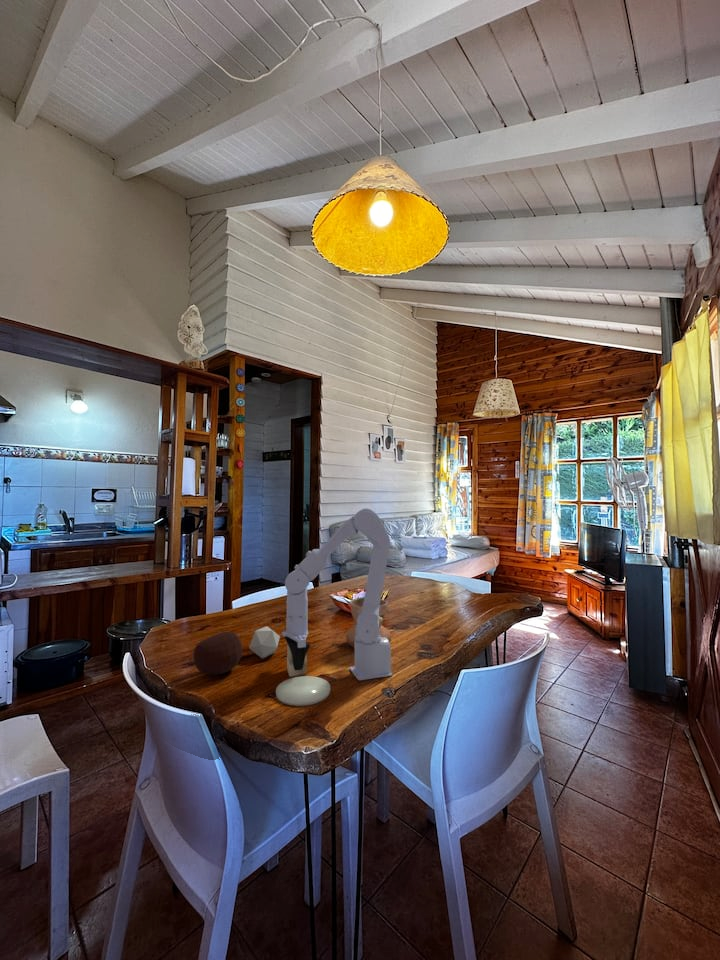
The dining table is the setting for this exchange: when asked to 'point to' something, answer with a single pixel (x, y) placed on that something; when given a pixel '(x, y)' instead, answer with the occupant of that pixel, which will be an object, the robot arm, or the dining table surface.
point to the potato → (218, 653)
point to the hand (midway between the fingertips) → (296, 665)
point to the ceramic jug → (356, 609)
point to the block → (291, 668)
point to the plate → (303, 691)
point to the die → (264, 642)
